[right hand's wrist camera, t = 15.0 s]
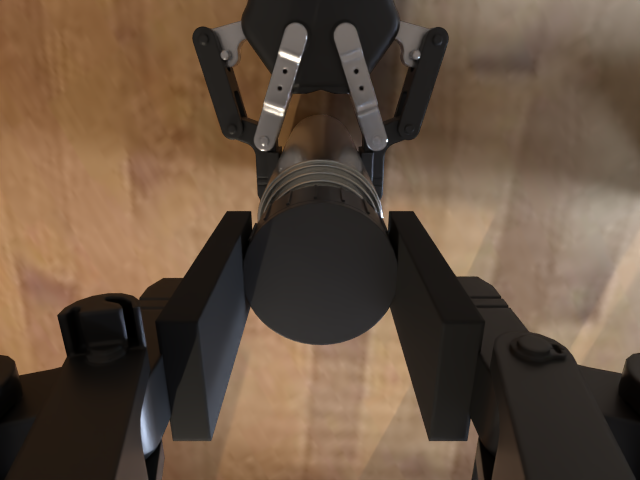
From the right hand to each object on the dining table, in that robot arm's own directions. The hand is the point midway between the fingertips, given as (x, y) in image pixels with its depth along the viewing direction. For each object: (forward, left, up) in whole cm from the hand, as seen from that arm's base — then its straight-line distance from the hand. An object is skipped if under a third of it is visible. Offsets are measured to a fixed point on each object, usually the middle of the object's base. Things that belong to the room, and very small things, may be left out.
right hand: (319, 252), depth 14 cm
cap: (0, 0, +2) cm, 2 cm away
